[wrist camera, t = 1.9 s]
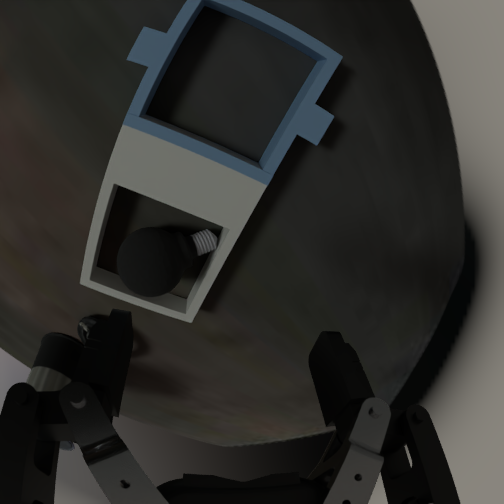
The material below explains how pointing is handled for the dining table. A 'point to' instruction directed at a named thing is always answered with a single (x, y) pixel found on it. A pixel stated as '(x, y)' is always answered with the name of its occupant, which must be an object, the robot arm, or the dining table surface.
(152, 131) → the two-tone divided frame
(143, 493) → the robot arm
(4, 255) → the dining table surface
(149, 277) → the light bulb
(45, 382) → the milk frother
